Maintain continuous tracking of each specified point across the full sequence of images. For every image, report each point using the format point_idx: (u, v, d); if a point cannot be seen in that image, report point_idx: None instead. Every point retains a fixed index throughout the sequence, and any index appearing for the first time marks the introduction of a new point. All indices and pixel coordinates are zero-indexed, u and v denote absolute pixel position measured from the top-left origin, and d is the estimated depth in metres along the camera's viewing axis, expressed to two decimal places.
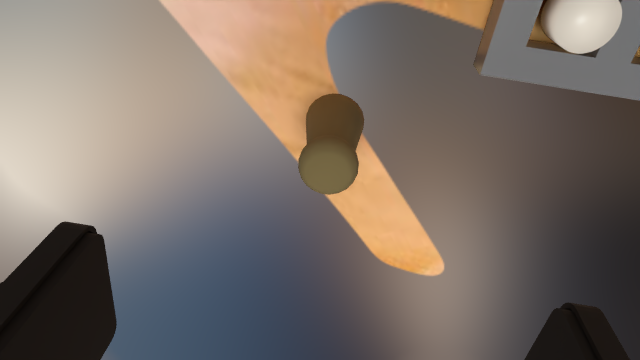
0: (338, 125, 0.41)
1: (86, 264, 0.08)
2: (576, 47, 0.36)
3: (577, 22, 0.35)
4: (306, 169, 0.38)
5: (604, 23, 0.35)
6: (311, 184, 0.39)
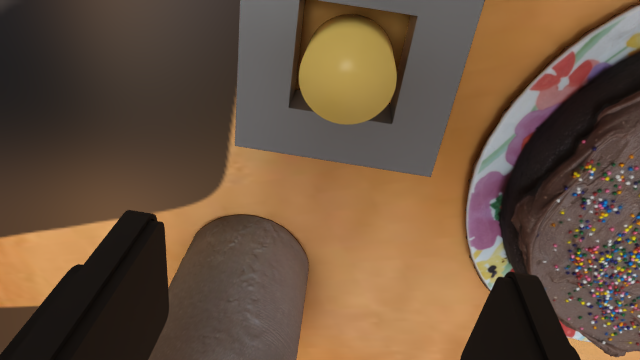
0: None
1: (151, 249, 0.09)
2: None
3: None
4: None
5: None
6: None
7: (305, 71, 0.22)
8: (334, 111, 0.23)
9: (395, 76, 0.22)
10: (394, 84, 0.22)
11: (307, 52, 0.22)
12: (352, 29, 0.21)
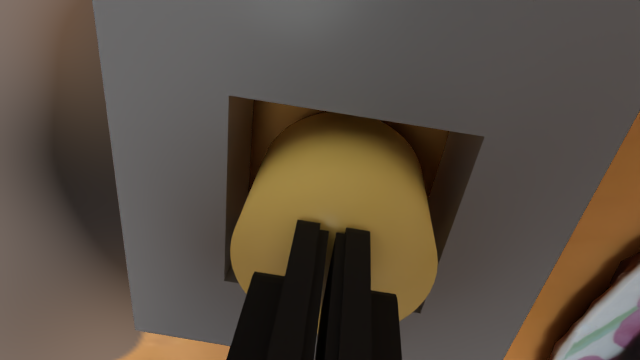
0: None
1: None
2: None
3: None
4: None
5: None
6: None
7: (243, 248, 0.11)
8: None
9: (435, 264, 0.10)
10: (432, 277, 0.10)
11: (244, 216, 0.10)
12: (341, 175, 0.09)
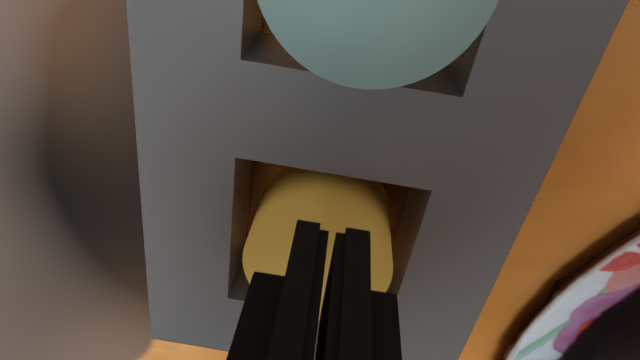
0: None
1: None
2: None
3: None
4: None
5: None
6: None
7: (252, 255, 0.14)
8: None
9: (391, 267, 0.14)
10: (389, 277, 0.14)
11: (254, 232, 0.14)
12: (323, 204, 0.13)
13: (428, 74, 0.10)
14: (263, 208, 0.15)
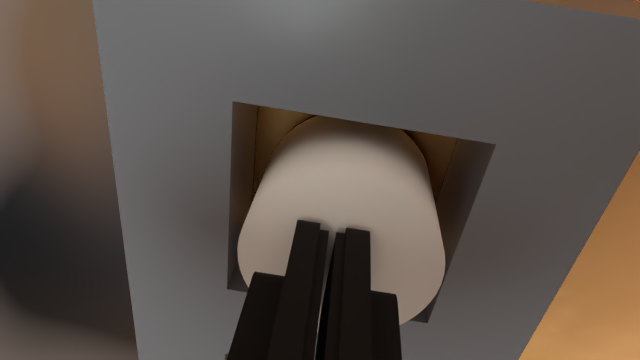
0: None
1: None
2: (256, 250, 0.11)
3: None
4: None
5: None
6: None
7: None
8: None
9: None
10: None
11: None
12: None
13: None
14: None
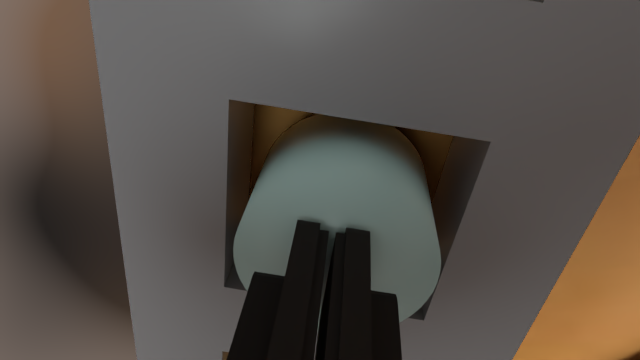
0: None
1: None
2: None
3: None
4: None
5: None
6: None
7: None
8: None
9: None
10: None
11: None
12: None
13: None
14: None
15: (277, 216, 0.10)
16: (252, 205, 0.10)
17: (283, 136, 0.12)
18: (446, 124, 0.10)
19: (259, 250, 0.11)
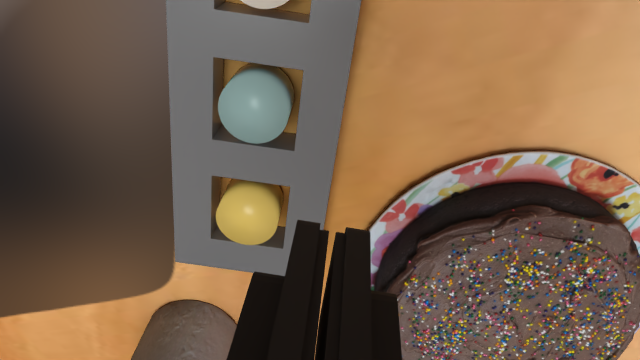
0: None
1: None
2: None
3: None
4: None
5: None
6: None
7: (219, 215, 0.35)
8: (240, 237, 0.36)
9: (276, 218, 0.35)
10: (276, 222, 0.35)
11: (219, 205, 0.35)
12: (246, 192, 0.34)
13: (273, 138, 0.32)
14: (224, 196, 0.35)
15: (232, 91, 0.30)
16: (224, 88, 0.30)
17: (236, 72, 0.33)
18: (287, 64, 0.30)
19: (227, 106, 0.31)
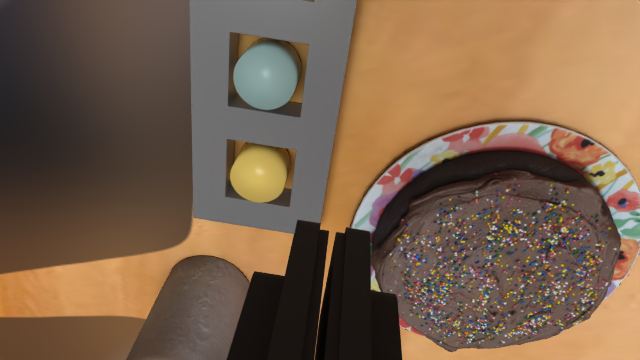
0: None
1: None
2: None
3: None
4: None
5: None
6: None
7: (233, 175, 0.39)
8: (252, 195, 0.40)
9: (283, 178, 0.39)
10: (283, 182, 0.39)
11: (233, 165, 0.39)
12: (257, 154, 0.38)
13: (281, 105, 0.36)
14: (237, 157, 0.40)
15: (246, 62, 0.34)
16: None
17: None
18: (295, 38, 0.34)
19: (241, 75, 0.35)
